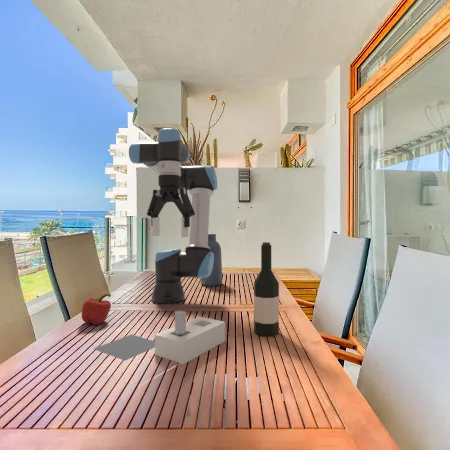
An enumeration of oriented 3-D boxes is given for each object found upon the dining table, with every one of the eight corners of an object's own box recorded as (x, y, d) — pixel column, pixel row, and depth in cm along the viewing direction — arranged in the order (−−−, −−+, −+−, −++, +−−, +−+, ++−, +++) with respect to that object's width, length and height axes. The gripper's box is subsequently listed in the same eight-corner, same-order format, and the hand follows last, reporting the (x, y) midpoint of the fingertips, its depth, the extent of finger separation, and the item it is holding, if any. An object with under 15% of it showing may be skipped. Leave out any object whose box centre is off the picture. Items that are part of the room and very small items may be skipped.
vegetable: (105, 316, 130) (105, 290, 130) (118, 322, 123) (117, 295, 122) (76, 322, 122) (76, 295, 122) (88, 329, 115) (87, 300, 115)
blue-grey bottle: (226, 283, 192) (226, 234, 191) (214, 287, 182) (214, 235, 181) (209, 281, 199) (208, 233, 198) (196, 284, 188) (196, 234, 188)
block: (182, 365, 87) (181, 342, 87) (154, 356, 93) (154, 334, 93) (225, 341, 104) (225, 321, 104) (199, 334, 110) (199, 316, 109)
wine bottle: (280, 329, 114) (281, 241, 113) (276, 338, 106) (276, 243, 105) (257, 327, 117) (256, 241, 116) (250, 335, 109) (250, 243, 108)
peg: (173, 354, 94) (172, 312, 94) (180, 351, 96) (180, 309, 96) (180, 357, 92) (180, 314, 92) (188, 353, 95) (187, 311, 94)
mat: (93, 349, 97) (93, 348, 97) (131, 335, 109) (131, 334, 109) (125, 361, 90) (125, 360, 90) (162, 344, 101) (162, 343, 101)
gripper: (136, 176, 119) (137, 236, 120) (190, 171, 105) (190, 238, 106) (152, 178, 125) (152, 234, 126) (204, 173, 111) (205, 237, 112)
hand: (170, 236), depth 116 cm, fingers open, 13 cm apart
